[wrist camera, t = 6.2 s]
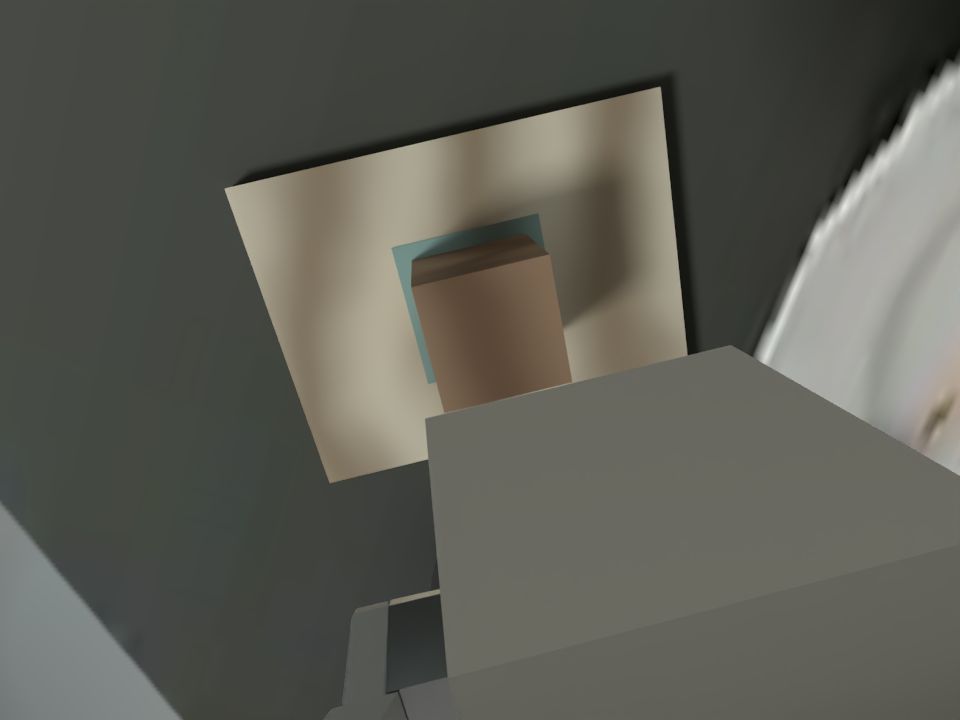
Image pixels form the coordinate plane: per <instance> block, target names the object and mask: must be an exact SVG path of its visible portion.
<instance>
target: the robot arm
mask: <svg viewBox="0 0 960 720" xmlns="http://www.w3.org/2000/svg"><path fill="white" fill-rule="evenodd" d="M323 720H460V718H459V715H458V711H457V708H456V705H455V701H454V698H453V694H452V691H451V687H450V684H449V681H448V675H447V664H446V653H445V641H444V630H443V619H442V607H441V596H440V589H437V590H433V591H429V592H424V593H420V594H416V595H411V596H407V597H402V598H398V599H394V600H391V602H390V601H387V602H383V603H378V604H374V605H370V606H366V607H361V608H357V609H356V610H355V612H354V614H353V616H352V620H351V629H350V638H349V647H348V656H347V666H346V675H345V684H344V693H343V702H342V706H341V707H337V708H334V709H331V710H330V711H329V713H328V714H327V715H326V717H325V718H324V719H323Z"/></svg>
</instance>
